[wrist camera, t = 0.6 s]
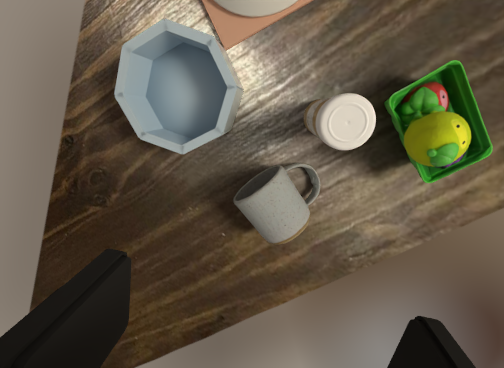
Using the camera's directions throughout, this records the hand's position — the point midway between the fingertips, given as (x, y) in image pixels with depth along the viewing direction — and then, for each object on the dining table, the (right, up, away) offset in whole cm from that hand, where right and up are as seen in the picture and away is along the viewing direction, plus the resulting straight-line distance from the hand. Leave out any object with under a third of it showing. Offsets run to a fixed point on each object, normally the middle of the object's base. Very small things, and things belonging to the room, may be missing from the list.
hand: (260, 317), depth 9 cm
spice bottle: (+9, +13, +25) cm, 30 cm away
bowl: (-8, +16, +25) cm, 31 cm away
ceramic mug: (+4, +4, +28) cm, 29 cm away
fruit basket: (+20, +12, +24) cm, 34 cm away
